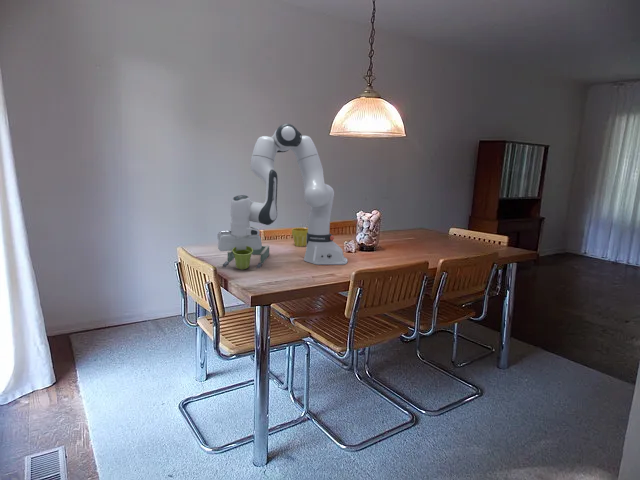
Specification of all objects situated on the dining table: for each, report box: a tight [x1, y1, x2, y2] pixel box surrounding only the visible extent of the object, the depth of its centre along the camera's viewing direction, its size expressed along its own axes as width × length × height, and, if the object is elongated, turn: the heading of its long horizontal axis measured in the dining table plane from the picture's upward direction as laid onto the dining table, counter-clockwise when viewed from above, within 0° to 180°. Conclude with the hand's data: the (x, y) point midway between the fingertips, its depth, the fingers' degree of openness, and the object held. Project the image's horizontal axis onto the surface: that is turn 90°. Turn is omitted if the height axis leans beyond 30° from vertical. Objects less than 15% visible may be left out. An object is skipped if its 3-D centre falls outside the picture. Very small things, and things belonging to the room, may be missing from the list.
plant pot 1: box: [232, 246, 253, 270], centre depth 202 cm, size 9×9×9 cm
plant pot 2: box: [291, 227, 308, 247], centre depth 259 cm, size 10×10×10 cm
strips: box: [222, 260, 263, 269], centre depth 208 cm, size 18×6×1 cm, turn 88°
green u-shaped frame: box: [226, 245, 270, 265], centre depth 223 cm, size 18×20×5 cm
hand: (239, 259), depth 206 cm, fingers closed
